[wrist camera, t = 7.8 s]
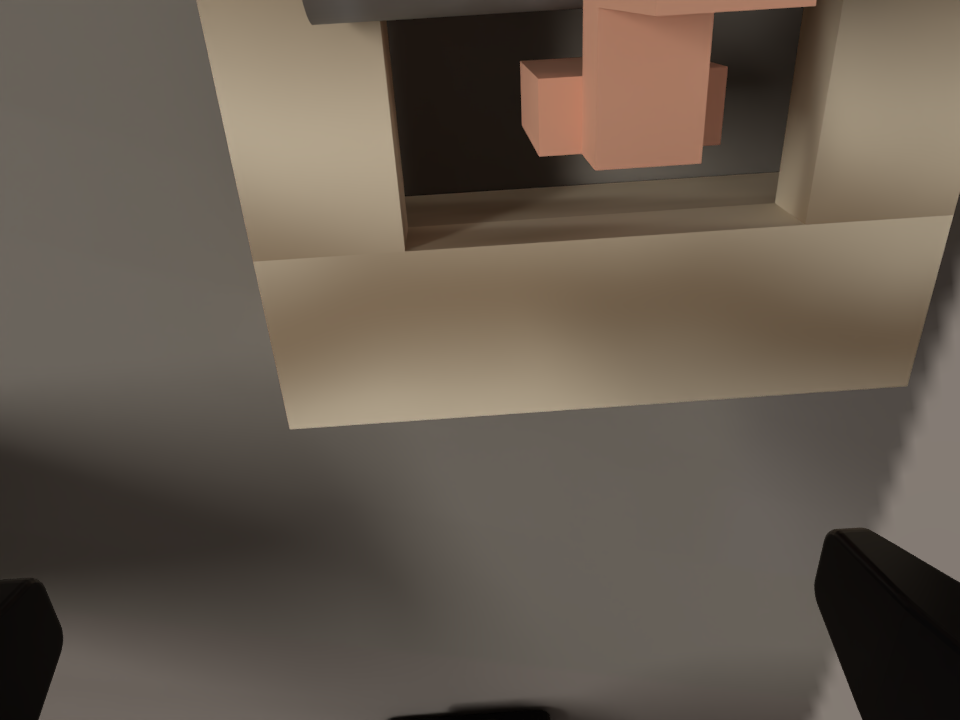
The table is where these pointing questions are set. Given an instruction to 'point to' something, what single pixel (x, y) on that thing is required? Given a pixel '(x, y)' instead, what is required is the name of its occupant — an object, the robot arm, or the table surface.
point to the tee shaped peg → (634, 85)
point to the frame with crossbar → (585, 230)
